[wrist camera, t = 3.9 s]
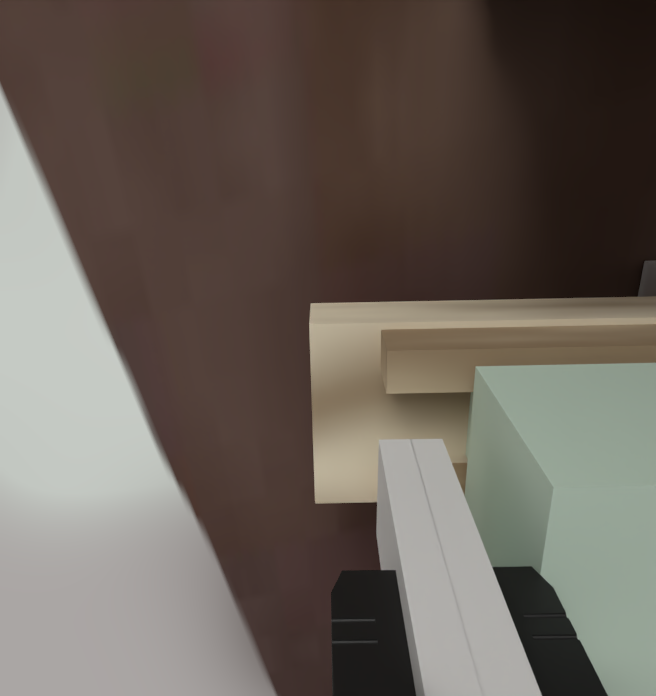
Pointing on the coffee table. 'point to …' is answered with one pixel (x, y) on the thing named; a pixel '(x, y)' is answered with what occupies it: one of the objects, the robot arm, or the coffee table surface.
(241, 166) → the coffee table surface
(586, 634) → the block
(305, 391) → the coffee table surface
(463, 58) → the coffee table surface
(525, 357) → the beam
